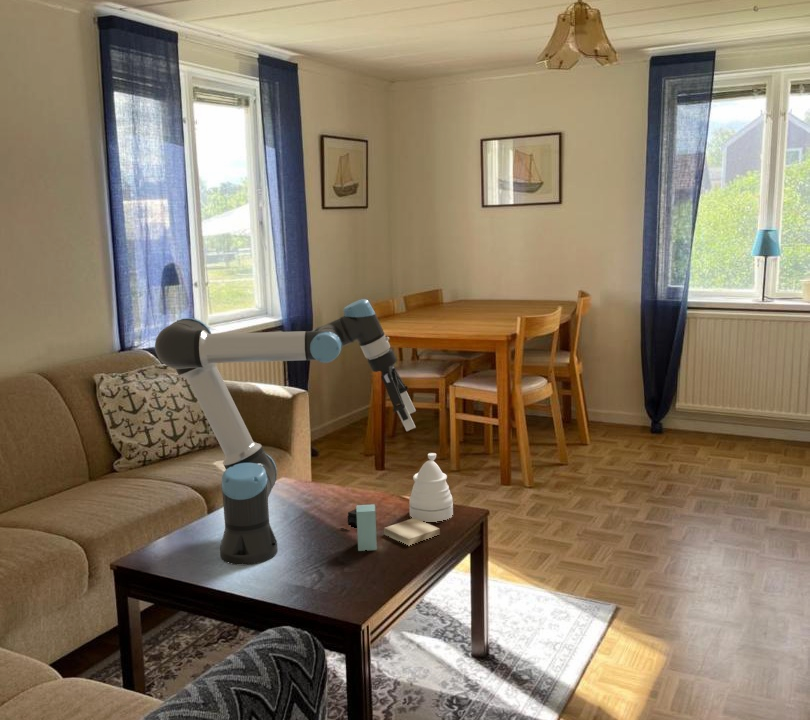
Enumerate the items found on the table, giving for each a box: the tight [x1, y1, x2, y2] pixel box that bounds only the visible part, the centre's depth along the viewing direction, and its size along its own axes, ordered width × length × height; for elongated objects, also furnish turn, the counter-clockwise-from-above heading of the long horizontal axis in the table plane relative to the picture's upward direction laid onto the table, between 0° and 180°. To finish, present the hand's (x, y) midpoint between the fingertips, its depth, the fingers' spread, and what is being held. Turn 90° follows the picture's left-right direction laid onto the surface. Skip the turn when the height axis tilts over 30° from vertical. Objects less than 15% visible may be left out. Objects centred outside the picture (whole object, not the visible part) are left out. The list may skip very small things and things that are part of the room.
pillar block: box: [355, 503, 378, 552], centre depth 227 cm, size 5×5×11 cm
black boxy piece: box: [347, 508, 357, 528], centre depth 243 cm, size 12×7×5 cm, turn 143°
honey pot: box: [408, 452, 454, 523], centre depth 248 cm, size 13×13×18 cm
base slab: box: [383, 518, 441, 547], centre depth 234 cm, size 11×11×2 cm
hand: (411, 420), depth 235 cm, fingers open, 13 cm apart
